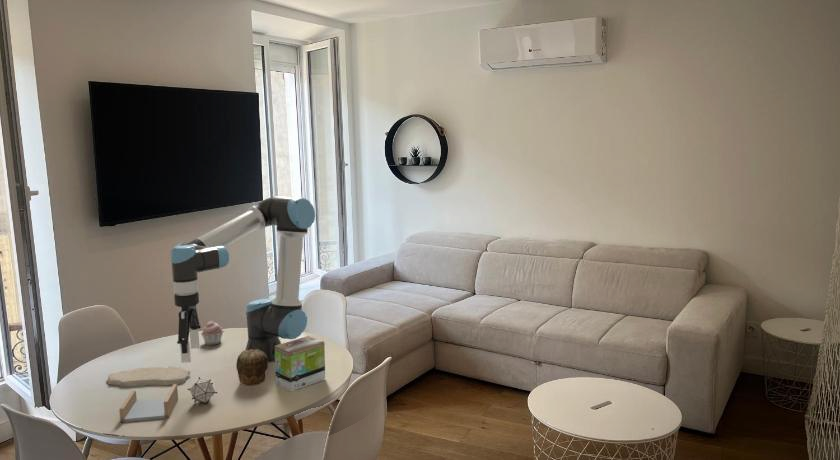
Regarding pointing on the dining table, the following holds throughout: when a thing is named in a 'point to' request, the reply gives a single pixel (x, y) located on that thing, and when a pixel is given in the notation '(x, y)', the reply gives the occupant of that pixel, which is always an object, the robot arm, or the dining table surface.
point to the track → (148, 407)
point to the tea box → (299, 363)
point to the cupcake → (212, 333)
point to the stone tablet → (149, 376)
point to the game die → (202, 391)
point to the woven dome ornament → (252, 367)
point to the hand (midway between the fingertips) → (190, 354)
